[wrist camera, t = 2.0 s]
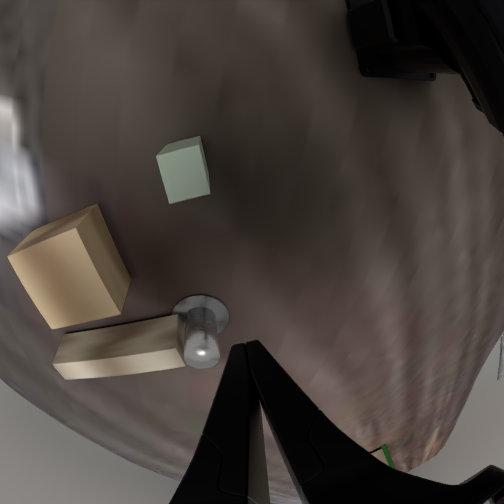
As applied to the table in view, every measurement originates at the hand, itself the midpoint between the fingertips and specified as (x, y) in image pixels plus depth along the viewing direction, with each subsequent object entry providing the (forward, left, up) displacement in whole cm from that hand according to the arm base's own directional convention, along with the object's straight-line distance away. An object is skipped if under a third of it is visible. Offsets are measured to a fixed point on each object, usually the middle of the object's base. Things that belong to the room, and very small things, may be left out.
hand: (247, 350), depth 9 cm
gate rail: (+10, +8, -11) cm, 17 cm away
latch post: (+1, -4, -11) cm, 12 cm away
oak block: (+11, 0, -11) cm, 15 cm away
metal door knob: (+4, +8, -11) cm, 14 cm away
